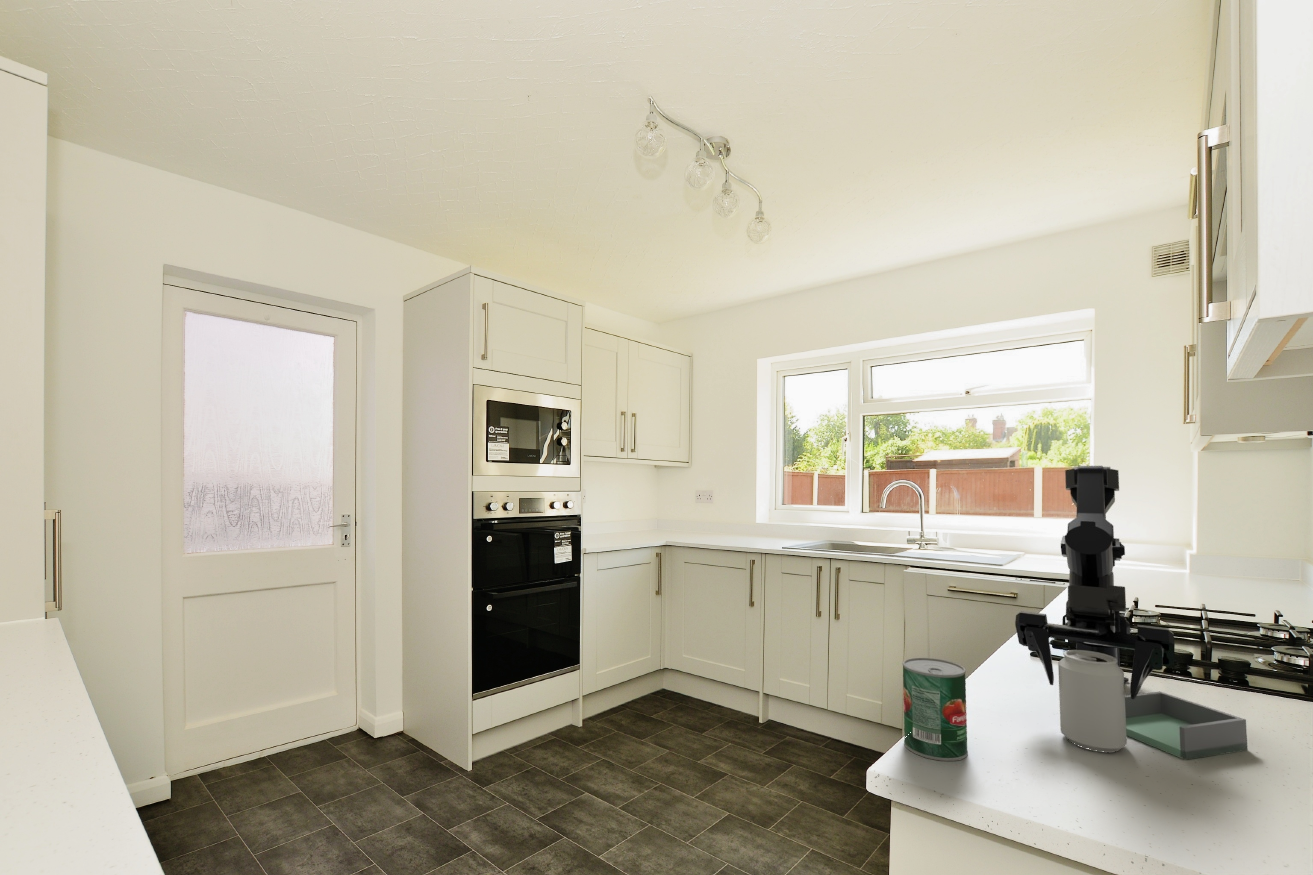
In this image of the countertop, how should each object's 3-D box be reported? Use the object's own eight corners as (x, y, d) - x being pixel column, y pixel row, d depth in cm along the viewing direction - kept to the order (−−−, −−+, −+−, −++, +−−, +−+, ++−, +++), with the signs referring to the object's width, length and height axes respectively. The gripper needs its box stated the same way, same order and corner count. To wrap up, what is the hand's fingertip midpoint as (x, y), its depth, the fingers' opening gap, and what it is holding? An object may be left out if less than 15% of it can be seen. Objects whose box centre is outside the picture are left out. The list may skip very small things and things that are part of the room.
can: (1141, 755, 82) (1137, 663, 83) (1083, 754, 82) (1080, 662, 83) (1101, 731, 90) (1098, 647, 90) (1049, 731, 90) (1046, 646, 90)
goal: (1160, 718, 95) (1159, 691, 95) (1247, 749, 84) (1245, 719, 84) (1103, 725, 92) (1102, 698, 92) (1185, 759, 81) (1184, 728, 81)
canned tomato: (900, 733, 89) (899, 655, 90) (960, 739, 87) (958, 659, 88) (908, 757, 81) (906, 672, 82) (974, 764, 79) (971, 677, 80)
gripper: (1014, 558, 97) (1006, 645, 87) (1170, 569, 85) (1179, 671, 76) (1023, 601, 102) (1015, 688, 93) (1169, 617, 91) (1178, 717, 82)
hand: (1090, 690), depth 86 cm, fingers open, 9 cm apart
